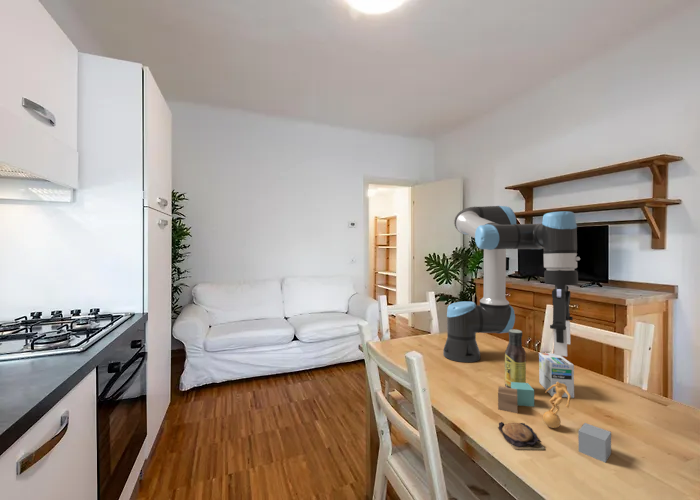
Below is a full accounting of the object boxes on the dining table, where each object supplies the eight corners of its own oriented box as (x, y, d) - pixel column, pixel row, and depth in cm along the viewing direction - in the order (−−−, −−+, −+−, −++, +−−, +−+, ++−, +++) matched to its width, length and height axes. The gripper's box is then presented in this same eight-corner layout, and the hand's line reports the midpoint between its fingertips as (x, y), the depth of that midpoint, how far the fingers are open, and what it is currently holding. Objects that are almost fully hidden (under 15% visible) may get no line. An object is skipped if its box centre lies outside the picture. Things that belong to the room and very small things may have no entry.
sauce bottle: (503, 384, 109) (503, 327, 109) (524, 386, 107) (523, 328, 107) (506, 392, 103) (505, 332, 103) (527, 395, 101) (527, 333, 101)
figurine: (534, 418, 88) (534, 375, 87) (554, 417, 88) (554, 375, 88) (555, 436, 79) (555, 389, 79) (578, 435, 80) (578, 388, 79)
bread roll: (548, 453, 74) (548, 437, 74) (511, 452, 74) (511, 437, 74) (525, 427, 85) (525, 413, 84) (493, 426, 85) (493, 413, 85)
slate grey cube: (584, 443, 77) (584, 422, 77) (611, 453, 73) (610, 432, 73) (578, 451, 74) (578, 430, 74) (605, 463, 70) (605, 440, 70)
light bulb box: (575, 398, 99) (574, 364, 98) (551, 397, 100) (551, 363, 100) (559, 384, 109) (559, 353, 109) (538, 382, 110) (538, 351, 110)
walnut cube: (498, 402, 97) (498, 386, 97) (517, 405, 95) (517, 389, 95) (498, 409, 93) (498, 392, 93) (517, 413, 90) (517, 396, 90)
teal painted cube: (511, 397, 100) (510, 382, 100) (528, 398, 99) (528, 383, 99) (516, 405, 95) (516, 389, 95) (534, 406, 94) (534, 390, 94)
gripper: (575, 271, 73) (578, 364, 72) (579, 268, 92) (581, 341, 92) (537, 270, 77) (540, 358, 77) (549, 268, 97) (551, 337, 96)
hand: (562, 349), depth 84 cm, fingers open, 13 cm apart
